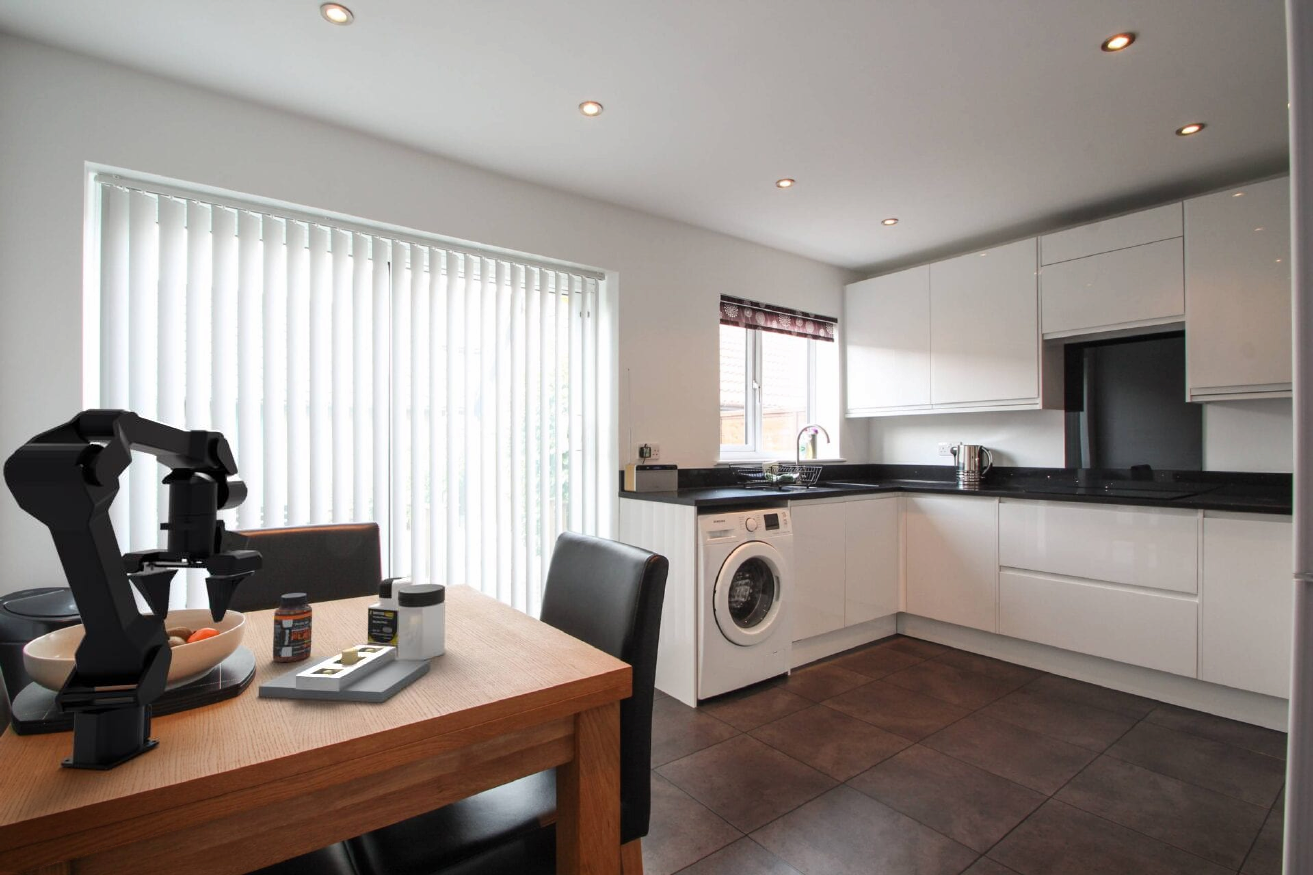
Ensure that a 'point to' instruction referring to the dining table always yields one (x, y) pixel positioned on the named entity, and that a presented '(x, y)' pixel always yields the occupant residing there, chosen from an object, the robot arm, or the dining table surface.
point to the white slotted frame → (345, 669)
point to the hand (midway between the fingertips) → (189, 620)
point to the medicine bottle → (386, 612)
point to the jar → (421, 622)
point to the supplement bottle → (292, 628)
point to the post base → (365, 689)
